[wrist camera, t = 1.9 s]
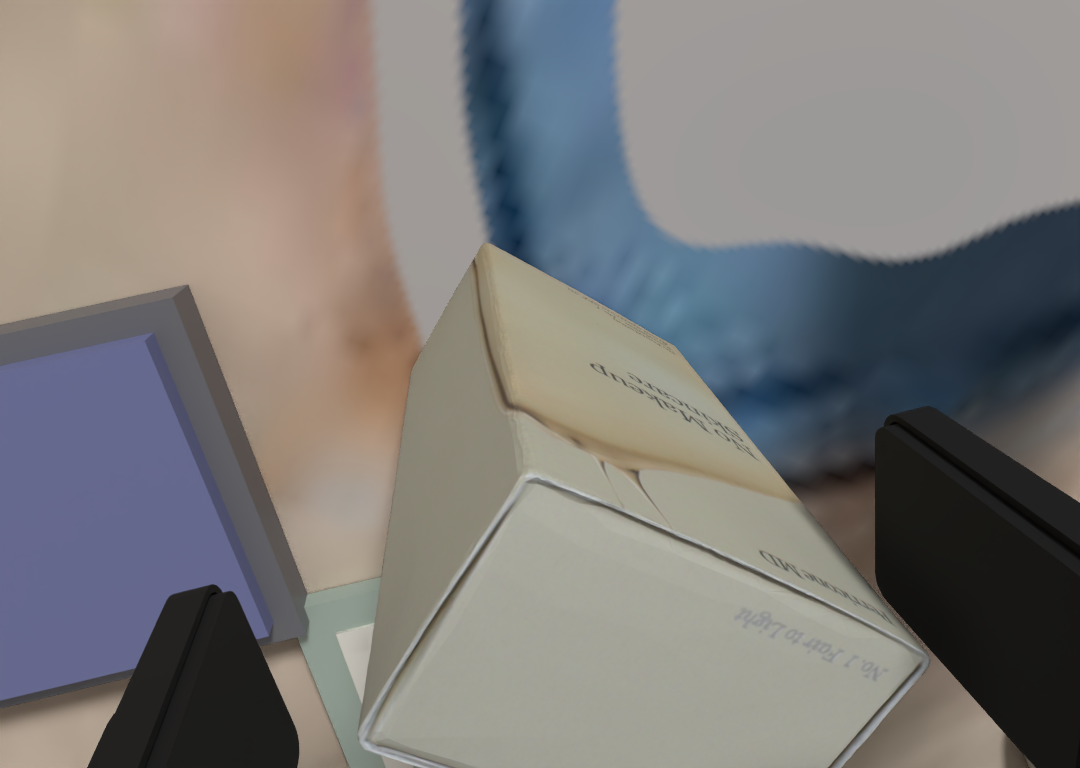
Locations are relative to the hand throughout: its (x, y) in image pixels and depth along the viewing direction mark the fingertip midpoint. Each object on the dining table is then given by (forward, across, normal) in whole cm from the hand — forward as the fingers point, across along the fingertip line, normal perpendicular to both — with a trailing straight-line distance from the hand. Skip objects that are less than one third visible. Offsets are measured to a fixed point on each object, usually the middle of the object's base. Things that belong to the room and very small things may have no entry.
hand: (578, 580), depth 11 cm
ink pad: (+10, +12, +2) cm, 16 cm away
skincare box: (+10, -1, +1) cm, 10 cm away
